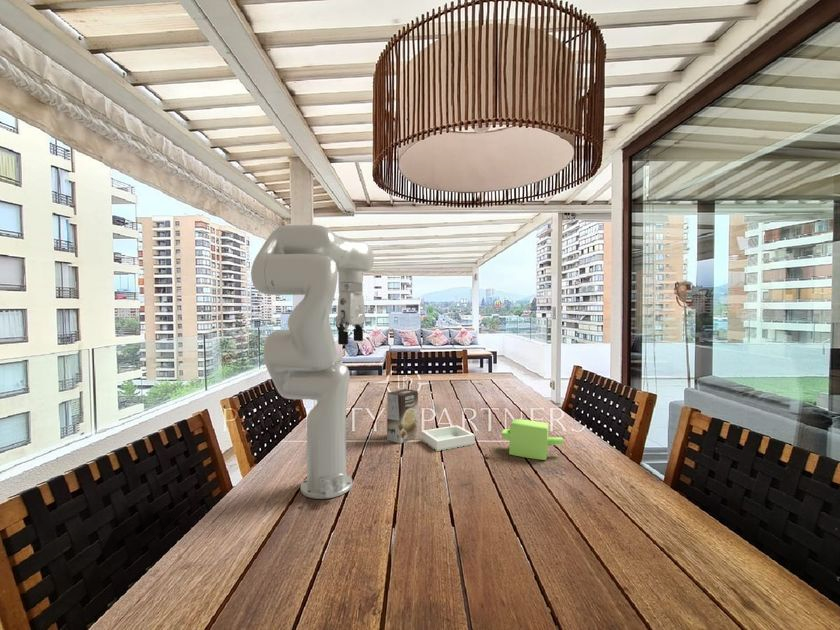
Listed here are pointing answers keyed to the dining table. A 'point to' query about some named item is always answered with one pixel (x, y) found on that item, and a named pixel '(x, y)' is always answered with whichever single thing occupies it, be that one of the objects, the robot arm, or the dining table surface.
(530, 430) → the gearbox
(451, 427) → the locating tray
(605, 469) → the dining table surface
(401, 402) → the coffee box
